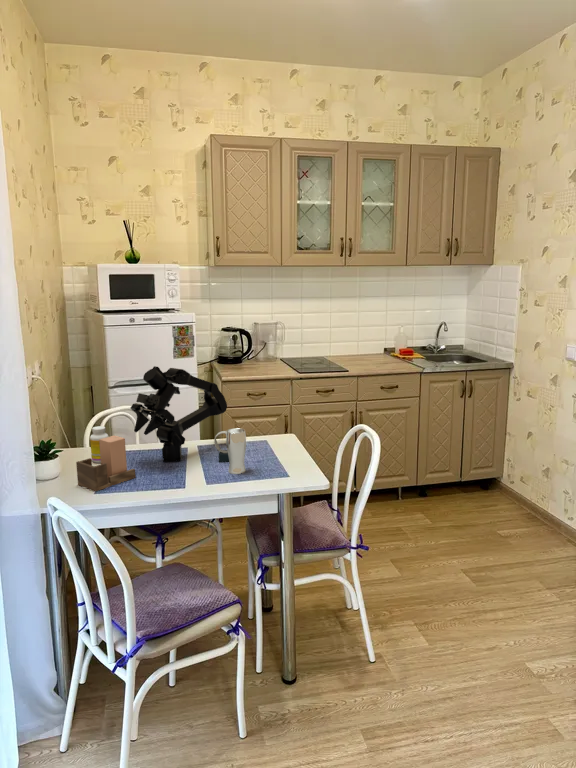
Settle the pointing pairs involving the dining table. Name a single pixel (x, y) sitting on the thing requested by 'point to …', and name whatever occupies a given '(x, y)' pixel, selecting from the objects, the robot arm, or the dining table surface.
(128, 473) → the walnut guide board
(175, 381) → the robot arm
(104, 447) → the terracotta block
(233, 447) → the beer glass
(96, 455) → the supplement bottle
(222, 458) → the watch
